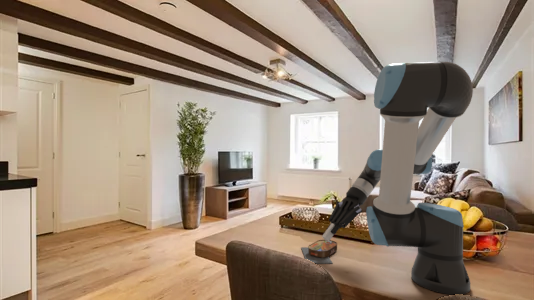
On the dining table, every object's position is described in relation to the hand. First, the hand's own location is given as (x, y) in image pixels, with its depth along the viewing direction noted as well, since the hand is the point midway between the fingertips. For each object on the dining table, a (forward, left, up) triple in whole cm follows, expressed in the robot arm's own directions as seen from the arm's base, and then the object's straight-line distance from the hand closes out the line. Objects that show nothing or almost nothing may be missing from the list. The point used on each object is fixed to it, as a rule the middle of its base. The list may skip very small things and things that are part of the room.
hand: (325, 239), depth 105 cm
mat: (+1, +3, -7) cm, 7 cm away
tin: (+2, -4, -5) cm, 7 cm away
